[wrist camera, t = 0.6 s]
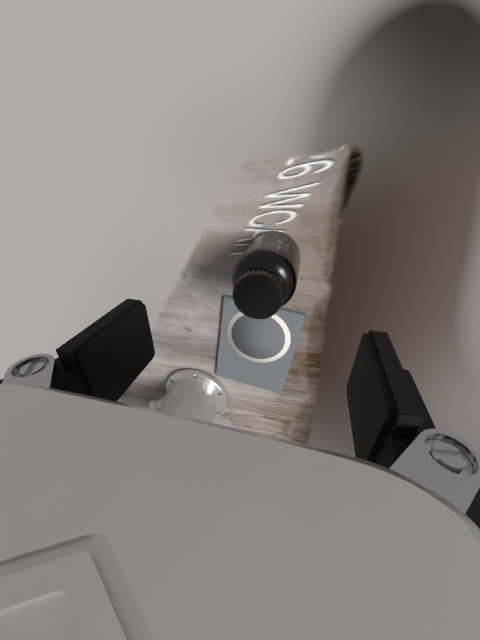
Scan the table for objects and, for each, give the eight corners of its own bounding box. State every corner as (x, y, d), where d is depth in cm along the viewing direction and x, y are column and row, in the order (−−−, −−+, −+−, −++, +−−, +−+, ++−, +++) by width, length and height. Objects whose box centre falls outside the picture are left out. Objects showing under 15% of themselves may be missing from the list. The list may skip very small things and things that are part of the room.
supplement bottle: (237, 255, 35) (206, 292, 25) (275, 218, 31) (256, 243, 21) (272, 291, 36) (256, 340, 26) (312, 259, 33) (310, 301, 23)
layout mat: (282, 390, 45) (281, 394, 45) (217, 372, 47) (215, 375, 46) (305, 313, 37) (305, 316, 36) (225, 295, 38) (223, 297, 38)
